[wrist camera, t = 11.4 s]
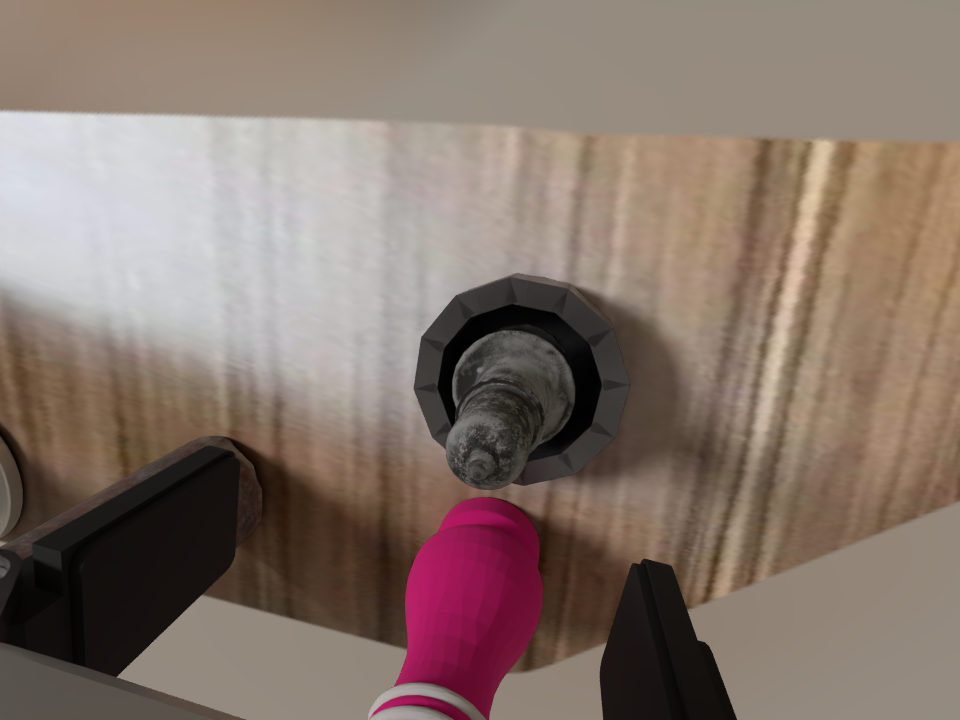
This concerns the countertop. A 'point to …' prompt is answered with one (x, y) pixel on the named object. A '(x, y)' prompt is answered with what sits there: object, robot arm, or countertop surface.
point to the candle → (247, 481)
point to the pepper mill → (466, 613)
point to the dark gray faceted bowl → (574, 329)
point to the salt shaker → (507, 403)
